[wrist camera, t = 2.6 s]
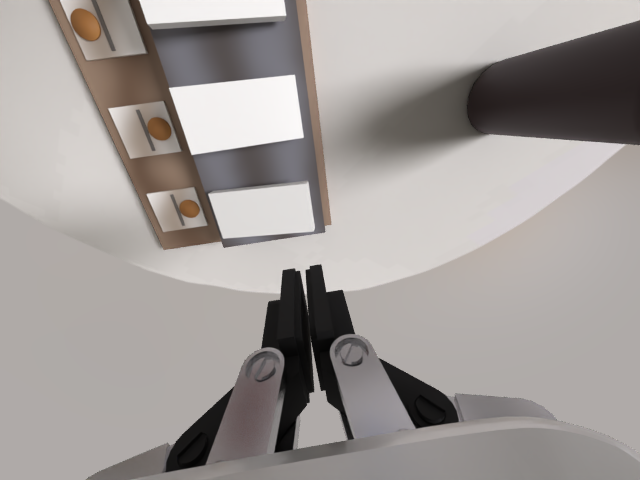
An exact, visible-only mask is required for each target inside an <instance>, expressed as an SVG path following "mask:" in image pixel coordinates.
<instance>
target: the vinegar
mask: <svg viewBox="0 0 640 480" xmlns="http://www.w3.org/2000/svg"><path fill="white" fill-rule="evenodd" d="M467 109H468V117H469V119H470V122H471V124H472V125H473V126H474V127H475V128H476V129H477V130H478V131H480V132H483V133H486V134H495V135H508V136H522V137H536V138H550V139H564V140H578V141H591V142H605V143H619V144H633V145H640V21H636V22H633V23H629V24H626V25H622V26H619V27H615V28H612V29H608V30H605V31H602V32H598V33H595V34H591V35H588V36H584V37H581V38H577V39H574V40H570V41H567V42H564V43H560V44H557V45H553V46H550V47H546V48H543V49H539V50H536V51H532V52H529V53H526V54H522V55H519V56H515V57H512V58H508V59H505V60H502V61H500V62H498V63H495V64H493V65H492V66H490V67H489V68H488V69H487V70H486V71H484V72H483V73H482V74H481V75H480V77H479V78H478V79H477V81H476V82H475V83H474V85H473V88H472V90H471V92H470V95H469V99H468V105H467Z"/></svg>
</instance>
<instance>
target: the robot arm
mask: <svg viewBox="0 0 640 480" xmlns="http://www.w3.org/2000/svg"><path fill="white" fill-rule="evenodd" d="M306 285H307V299H308V310H307V305H306V300H305V295H304V289H303V284H302V279H301V274H300V271H295V268H294V269H288V270H283V273H282V285H281V297H280V300H276V301H269V302H268V307H267V314H266V321H265V327H264V334H263V341H262V347H261V349H259V350H257V351H255V352H254V353H252V354H251V355H249V356H248V358H247V359H246V360H245V361H244V363H243V365H242V367H241V370H240V372H239V375H238V378H237V381H236V384H235V386H234V387H233V388H232V389H231V390H230V391H229V392H228V393H227V394H226V395H225V396H223V397H222V398H221V399H220V400H219V401H218V402H217V403H216V404H215V405H214V406H213V407H212V408H210V409H209V410H208V411H207V412H206V413H205V414H204V415H203V416H202V417H201V418H200V419H198V420H197V421H196V422H195V423H194V424H193V425H192V426H191V427H190V428H189V429H188V430H187V431H186V432H184V433H183V434H182V436H181V437H180V438H179V439H178V440H177V441H176V443H175V444H173V445H169V444H168V443H166V444H163V445H161V446H158V447H156V448H154V449H151V450H149V451H147V452H144V453H142V454H139V455H137V456H135V457H132V458H130V459H127V460H125V461H123V462H120V463H118V464H116V465H113V466H111V467H108V468H106V469H104V470H101V471H99V472H97V473H95V474H94V475H92V476H90V477H88V478H87V479H86V480H640V453H638V452H637V451H635V450H634V449H632V448H630V447H629V446H627V445H626V444H624V443H622V442H620V441H618V440H616V439H614V438H611V437H610V436H607V435H605V434H602V433H599V432H597V431H594V430H591V429H588V428H584V427H582V426H578V425H574V424H570V423H566V422H563V421H557V419H556V418H555V417H554V416H553V414H551V413H550V412H549V411H548V410H546V409H545V408H544V407H542V406H541V405H538V404H537V403H535V402H533V401H529V400H525V399H521V398H508V397H495V396H482V395H469V394H457V393H456V394H455V397H451V396H446V395H444V394H443V393H442V392H440V391H439V390H437V389H435V388H433V387H432V386H430V385H428V384H426V383H424V382H422V381H420V380H418V379H417V378H415V377H413V376H411V375H409V374H408V373H406V372H404V371H402V370H400V369H398V368H396V367H394V366H393V365H391V364H389V363H387V362H385V361H383V360H382V359H380V358H378V356H377V354H376V352H375V351H374V349H373V347H372V345H371V344H370V342H369V341H368V340H367V339H365V338H364V337H362V336H360V335H356V334H355V332H354V329H353V325H352V322H351V318H350V314H349V311H348V307H347V304H346V301H345V297H344V293H343V290H338V291H332V292H326V288H325V282H324V277H323V271H322V266H321V264H320V265H314V266H310V269H308V270H306ZM308 314H309V316H308ZM310 337H311V338H310ZM311 342H312V347H313V352H314V358H315V362H316V368H317V373H318V378H319V383H320V388H321V391H323V390H325V391H326V396H327V401H328V402H329V403H330V404H331V405H333V406H334V407H335V408H336V409H338V410H339V415H340V419H341V422H342V425H343V429H344V433H345V436H346V439H347V441H341V442H335V443H329V444H324V445H319V446H312V447H307V448H301V449H297V445H298V436H299V427H300V413H301V412H302V411H303V409H304V408H305V407H306V406H307V403H309V402H310V400H309V393H312V392H314V381H313V366H312V353H311Z"/></svg>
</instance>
